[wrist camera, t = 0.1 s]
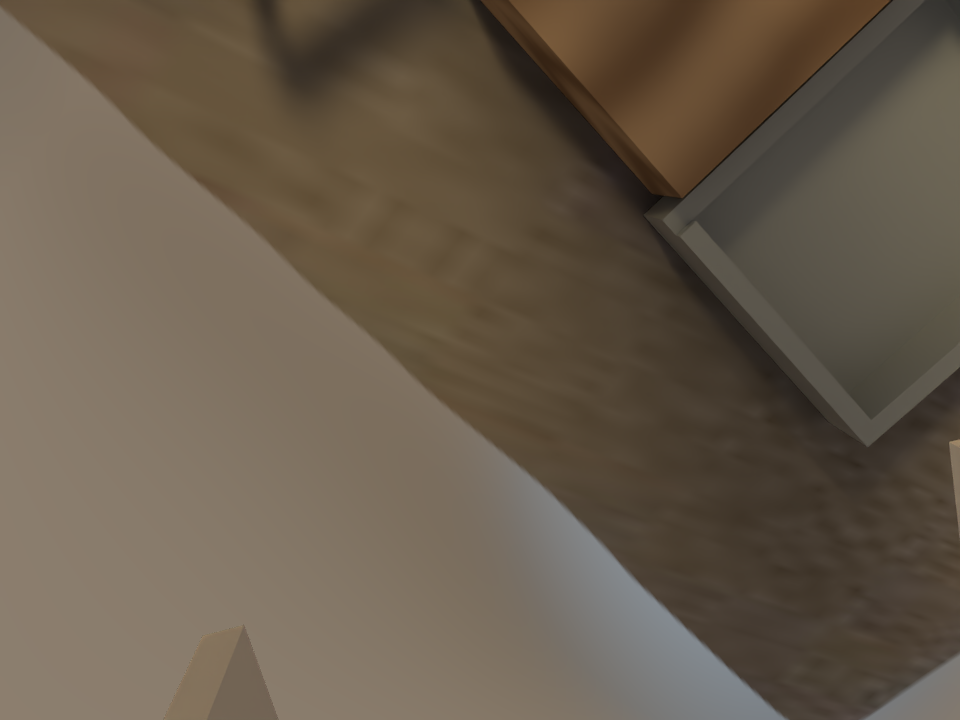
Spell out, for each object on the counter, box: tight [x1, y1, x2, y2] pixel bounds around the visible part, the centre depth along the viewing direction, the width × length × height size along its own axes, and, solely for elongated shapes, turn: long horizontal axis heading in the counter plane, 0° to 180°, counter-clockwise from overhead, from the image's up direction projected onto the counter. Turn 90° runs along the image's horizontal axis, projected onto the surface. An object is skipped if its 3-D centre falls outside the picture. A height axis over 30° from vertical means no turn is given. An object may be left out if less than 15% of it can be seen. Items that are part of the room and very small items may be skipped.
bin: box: [643, 0, 960, 447], centre depth 40 cm, size 16×18×4 cm
